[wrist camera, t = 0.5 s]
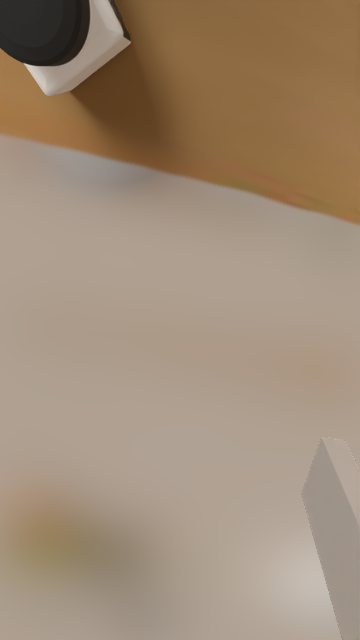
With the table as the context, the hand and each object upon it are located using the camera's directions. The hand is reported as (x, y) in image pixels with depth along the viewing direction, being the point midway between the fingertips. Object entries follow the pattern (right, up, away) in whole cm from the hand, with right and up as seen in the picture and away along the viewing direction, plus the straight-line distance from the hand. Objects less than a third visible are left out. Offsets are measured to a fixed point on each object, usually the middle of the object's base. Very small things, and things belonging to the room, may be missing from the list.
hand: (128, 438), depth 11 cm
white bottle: (-7, +29, +15) cm, 33 cm away
